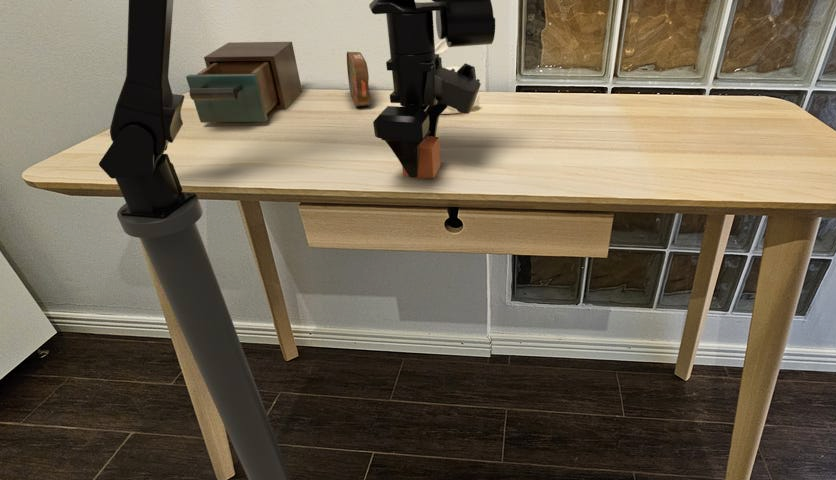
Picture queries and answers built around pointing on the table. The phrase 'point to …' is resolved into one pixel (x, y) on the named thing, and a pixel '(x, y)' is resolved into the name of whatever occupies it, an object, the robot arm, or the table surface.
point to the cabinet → (266, 51)
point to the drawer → (234, 91)
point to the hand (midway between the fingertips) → (421, 164)
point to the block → (428, 158)
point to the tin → (358, 78)
